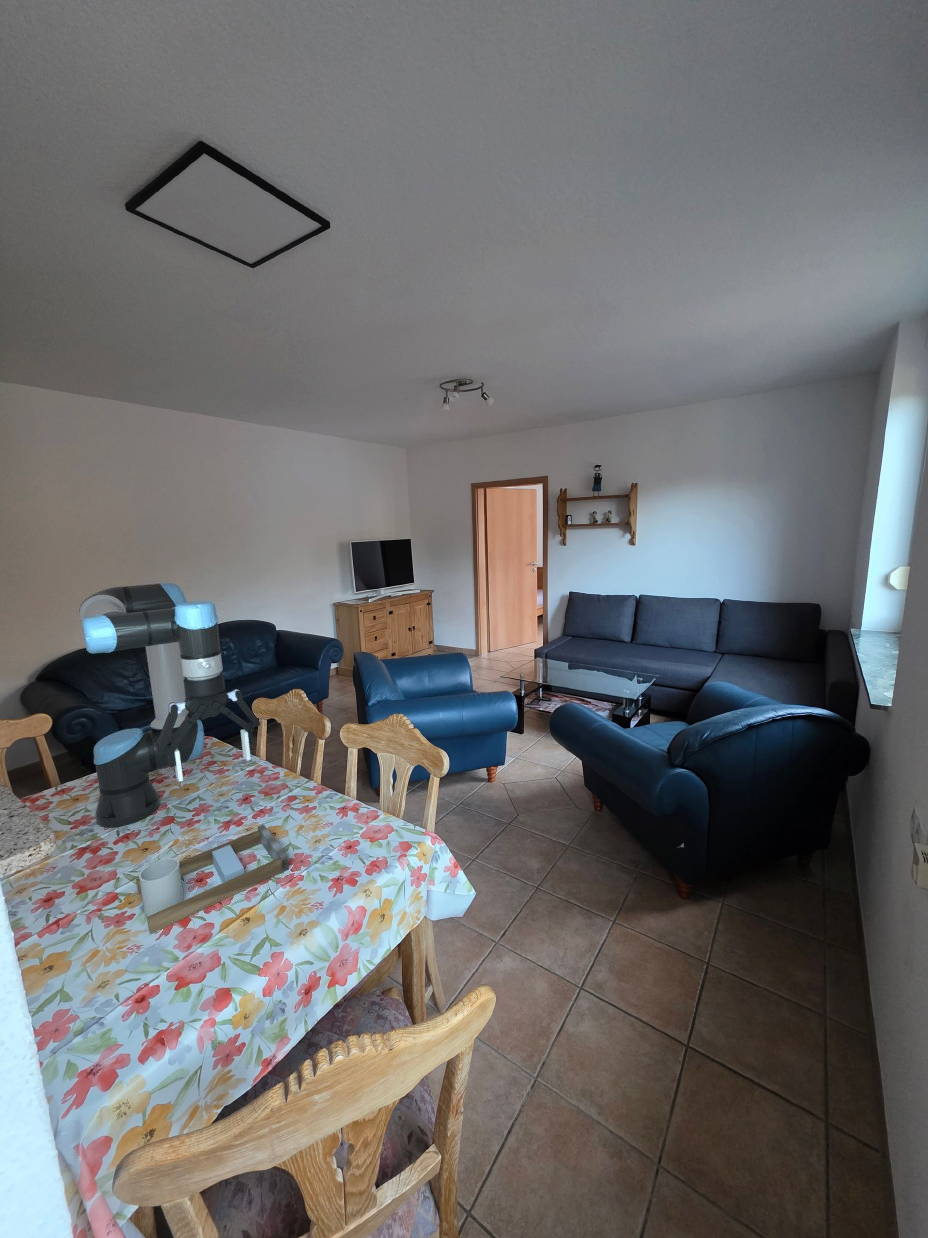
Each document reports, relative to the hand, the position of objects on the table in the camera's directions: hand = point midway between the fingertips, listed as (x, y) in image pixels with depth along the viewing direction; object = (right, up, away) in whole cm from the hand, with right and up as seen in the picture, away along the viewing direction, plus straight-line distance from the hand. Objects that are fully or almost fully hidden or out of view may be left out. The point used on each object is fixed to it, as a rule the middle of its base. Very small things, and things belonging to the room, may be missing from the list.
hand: (214, 768), depth 106 cm
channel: (-3, -27, +5) cm, 28 cm away
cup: (-10, -29, -1) cm, 31 cm away
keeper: (0, -27, +7) cm, 28 cm away
